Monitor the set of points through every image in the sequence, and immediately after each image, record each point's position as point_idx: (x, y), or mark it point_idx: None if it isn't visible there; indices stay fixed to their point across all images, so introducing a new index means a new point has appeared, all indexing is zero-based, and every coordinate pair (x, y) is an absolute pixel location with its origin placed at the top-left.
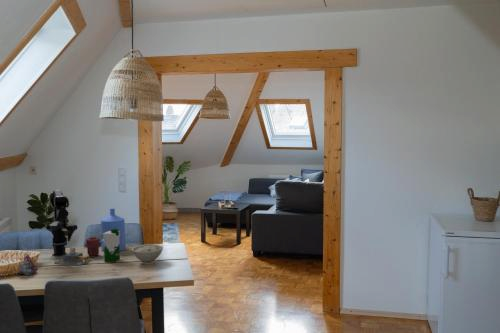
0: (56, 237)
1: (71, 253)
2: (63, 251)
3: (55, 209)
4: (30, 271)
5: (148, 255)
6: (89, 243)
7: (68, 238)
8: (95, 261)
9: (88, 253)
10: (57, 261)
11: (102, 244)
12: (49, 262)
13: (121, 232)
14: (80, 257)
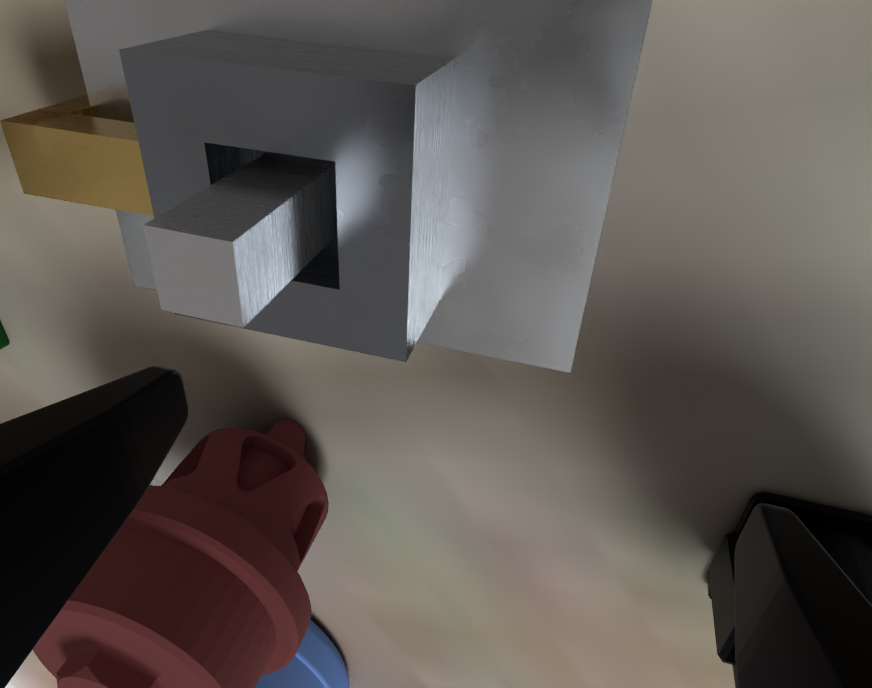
0: (756, 657)
1: (265, 183)
2: (727, 573)
3: None
4: None
5: None
6: (133, 556)
7: (44, 416)
8: (63, 223)
9: (291, 467)
10: (600, 49)
11: (263, 680)
12: (826, 70)
13: None
14: (115, 134)
